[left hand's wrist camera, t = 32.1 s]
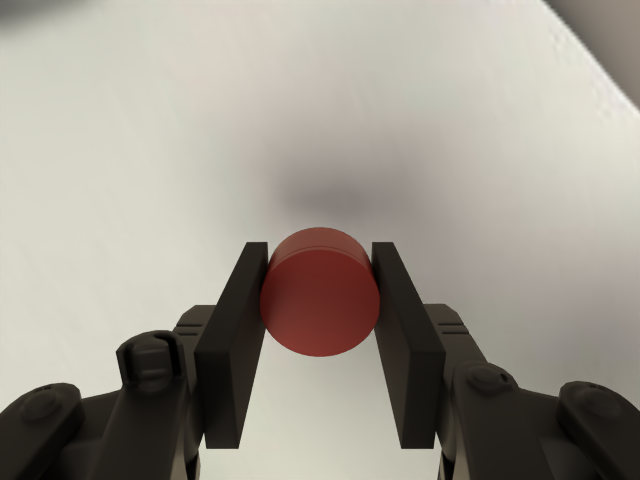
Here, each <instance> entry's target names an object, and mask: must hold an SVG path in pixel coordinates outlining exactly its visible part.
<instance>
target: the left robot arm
mask: <svg viewBox="0 0 640 480" xmlns="http://www.w3.org/2000/svg"><path fill="white" fill-rule="evenodd" d="M268 264H269V263H268V243H267V242H247V243H246V245H245V247H244V249H243V251H242V253H241V255H240V257H239V259H238V261H237V263H236V266H235V268H234V270H233V272H232V274H231V276H230V278H229V280H228V282H227V284H226V286H225V288H224V290H223V292H222V294H221V296H220V298H219V301H218V303H217V305H195V306H193V307H192V308H191V309H189V310H188V311H186V312H185V313H184V314H183V315H182V316H181V318H180V320H179V321H178V323H177V324H176V327H175V328H174V329H173V331H168V330H155V331H150V332H145V333H142V334H139V335H137V336H134V337H132V338H130V339H129V340H127V341H126V342H124V343H123V344H121V346H120V347H119V348H118V349H117V351H116V356H117V360H118V365H119V369H120V374H121V379H122V383H123V385H122V388H121V389H120V390H117V391H114V392H110V393H106V394H102V395H97V396H92V397H88V398H83V399H82V398H81V394H80V390H79V389H78V388H77V387H76V386H75V385H73V384H68V383H55V384H49V385H45V386H42V387H39V388H36V389H34V390H32V391H30V392H28V393H26V394H24V395H22V396H20V397H19V398H18V399H16V400H15V401H14V402H12V403H11V404H10V405H9V406H8V407H7V408H6V409H4V410H3V411H2V412H1V413H0V480H199V476H200V466H201V465H200V458H199V451H198V448H199V445H200V443H201V440H202V437H203V434H204V435H205V443H206V449H238V448H239V444H240V439H241V435H242V431H243V426H244V422H245V418H246V413H247V409H248V404H249V400H250V396H251V391H252V387H253V382H254V378H255V374H256V369H257V365H258V361H259V356H260V352H261V347H262V343H263V339H264V334H265V330H266V327H265V325H264V323H263V321H262V318H261V312H260V292H261V288H262V284H263V281H264V278H265V274H266V271H267V268H268ZM371 265H372V269H373V272H374V275H375V279H376V282H377V285H378V289H379V293H380V307H379V317H378V320H377V323H376V324H375V326H374V331H375V335H376V340H377V344H378V349H379V353H380V357H381V362H382V366H383V370H384V375H385V379H386V384H387V388H388V392H389V397H390V401H391V406H392V410H393V414H394V419H395V423H396V427H397V432H398V436H399V441H400V445H401V449H433V448H434V441H435V433H437V436H438V438H439V441H440V444H441V447H442V451H441V458H440V465H439V472H438V479H437V480H640V411H639V410H638V409H637V408H636V407H635V406H633V405H632V404H631V403H630V402H629V401H628V400H626V399H625V398H624V397H622V396H621V395H620V394H618V393H616V392H614V391H612V390H610V389H608V388H606V387H604V386H601V385H597V384H594V383H590V382H582V381H574V382H569V383H566V384H565V385H564V386H563V387H561V389H560V393H559V397H555V396H550V395H546V394H541V393H537V392H532V391H528V390H525V389H522V388H519V387H518V384H517V383H516V381H515V380H514V378H513V377H512V376H511V375H510V374H509V373H508V372H506V371H505V370H504V369H502V368H500V367H498V366H496V365H494V364H491V363H488V362H487V360H486V359H485V357H484V355H483V354H482V352H481V351H480V349H479V347H478V346H477V344H476V343H475V341H474V339H473V338H472V336H471V334H469V331H468V330H467V328H466V326H464V323H463V322H462V320H461V318H460V317H459V315H458V314H457V312H455V311H454V310H452V309H451V308H450V307H448V306H447V305H445V304H423V303H422V301H421V299H420V297H419V295H418V293H417V291H416V289H415V287H414V285H413V283H412V281H411V278H410V276H409V274H408V272H407V270H406V268H405V266H404V264H403V262H402V260H401V258H400V256H399V254H398V252H397V250H396V248H395V246H394V243H393V242H372V258H371Z"/></svg>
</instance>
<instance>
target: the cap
mask: <svg viewBox="0 0 640 480" xmlns="http://www.w3.org/2000/svg"><path fill="white" fill-rule="evenodd" d="M379 307H380V293H379V289H378V285H377V282H376V279H375V275H374V272H373V269H372V265H371V262H370V259H369V257H368V255H367V253H366V251H365V250H364V248H363V247H362V246H361V245H360V244H359V243H358V242H357V241H356V240H355V239H354V238H352V237H351V236H349V235H347V234H346V233H344V232H341V231H339V230H335V229H331V228H324V227H316V228H308V229H305V230H301V231H299V232H296V233H294V234H292V235H291V236H289V237H287V238H286V239H285V240H284V241H283V242H281V243H280V244H279V246H278V247H277V248H276V249H275V251H274V253H273V254H272V256H271V259H270V261H269V264H268V268H267V271H266V274H265V278H264V281H263V284H262V288H261V292H260V312H261V318H262V321H263V323H264V325H265V327H266V329H267V330H268V332H269V333H270V334H271V336H272V337H273V338H274V339H275V340H276V341H278V342H279V343H280V344H281V345H283V346H284V347H286V348H288V349H290V350H292V351H294V352H296V353H299V354H303V355H307V356H315V357H325V356H333V355H337V354H340V353H343V352H346V351H348V350H350V349H352V348H354V347H355V346H357V345H358V344H360V343H361V342H362V341H363V340H364V339H365V338H366V337H367V336H368V335H369V334H370V333H371V331H372V330H373V328H374V326H375V324H376V323H377V320H378V317H379Z"/></svg>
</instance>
